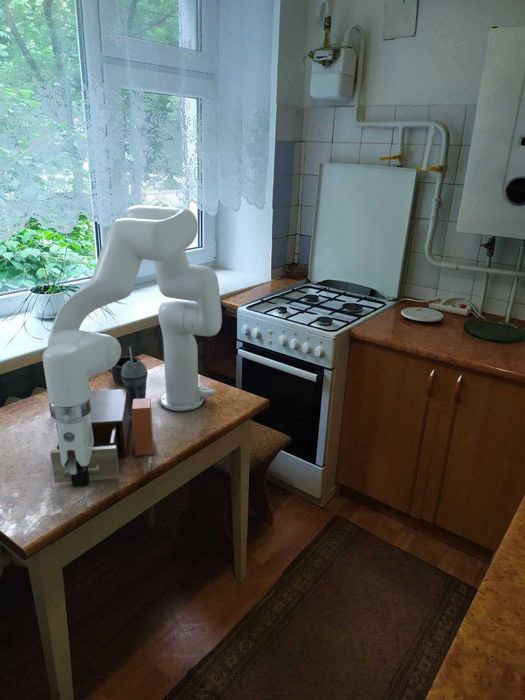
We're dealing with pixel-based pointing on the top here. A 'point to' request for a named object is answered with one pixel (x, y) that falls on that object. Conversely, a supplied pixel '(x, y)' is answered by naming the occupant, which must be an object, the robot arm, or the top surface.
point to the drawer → (94, 456)
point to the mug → (118, 367)
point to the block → (142, 426)
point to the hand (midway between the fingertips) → (81, 484)
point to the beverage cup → (134, 379)
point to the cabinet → (111, 412)
